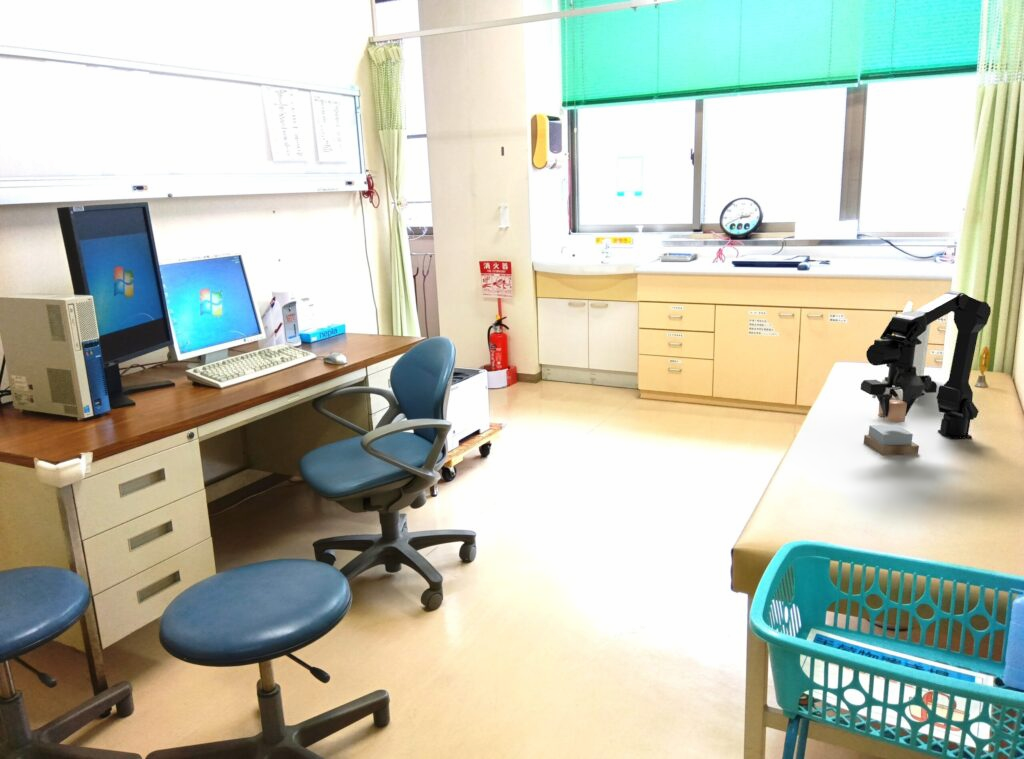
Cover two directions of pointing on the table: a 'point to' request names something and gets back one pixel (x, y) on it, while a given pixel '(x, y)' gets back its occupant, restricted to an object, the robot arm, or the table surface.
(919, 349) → the white forked cradle stand
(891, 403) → the peach domed cylinder
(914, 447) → the walnut base slab
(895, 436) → the grey top slab
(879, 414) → the grandmother figurine
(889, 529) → the table surface
